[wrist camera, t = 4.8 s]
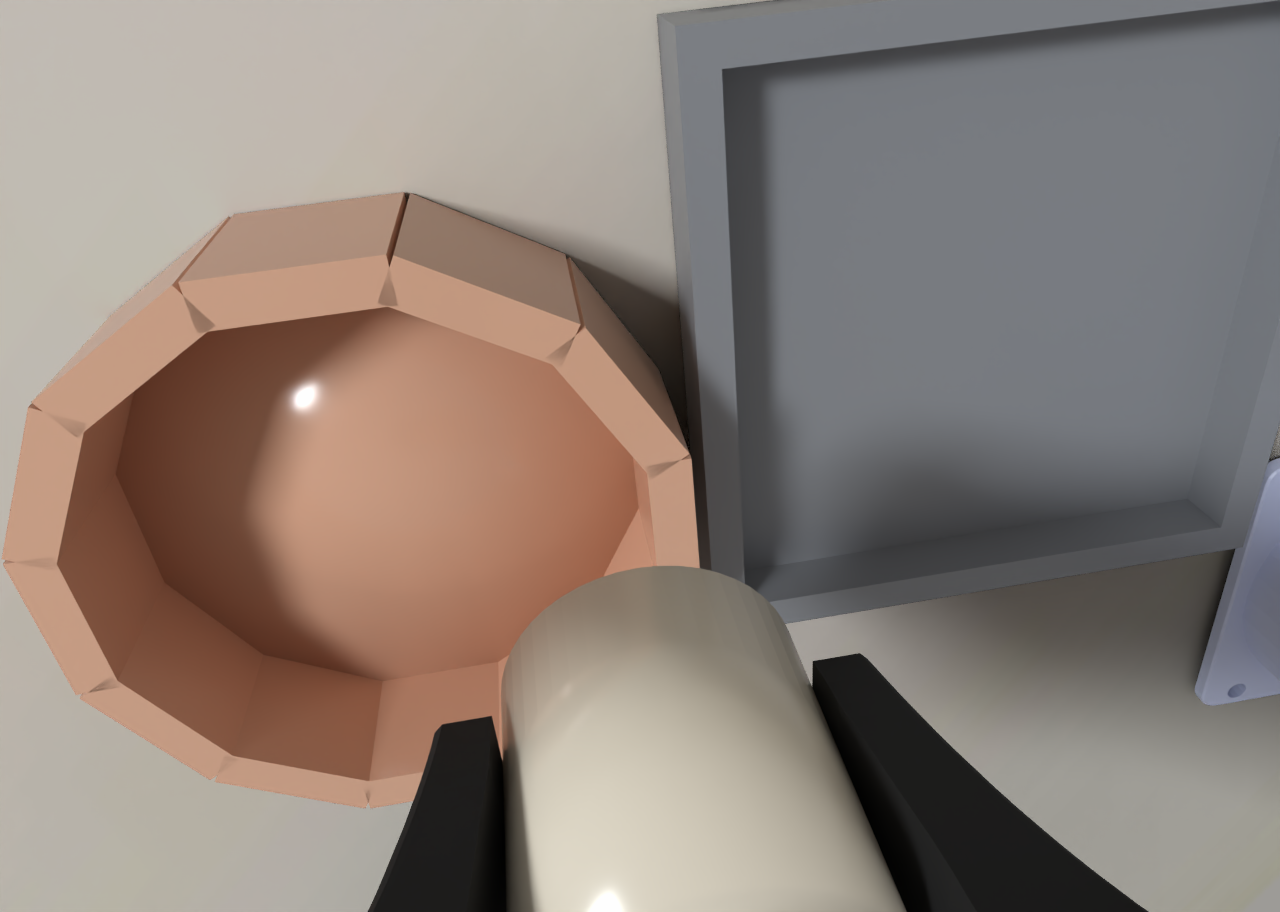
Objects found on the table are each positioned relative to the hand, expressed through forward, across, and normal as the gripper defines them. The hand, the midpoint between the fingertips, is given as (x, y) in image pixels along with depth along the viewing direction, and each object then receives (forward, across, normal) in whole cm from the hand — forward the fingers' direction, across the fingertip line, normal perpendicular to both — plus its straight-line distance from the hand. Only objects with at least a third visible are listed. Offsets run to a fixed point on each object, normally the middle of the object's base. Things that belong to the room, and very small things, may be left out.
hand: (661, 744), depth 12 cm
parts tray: (+9, -8, -1) cm, 12 cm away
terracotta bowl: (+9, +4, +1) cm, 10 cm away
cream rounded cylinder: (+1, 0, 0) cm, 1 cm away
